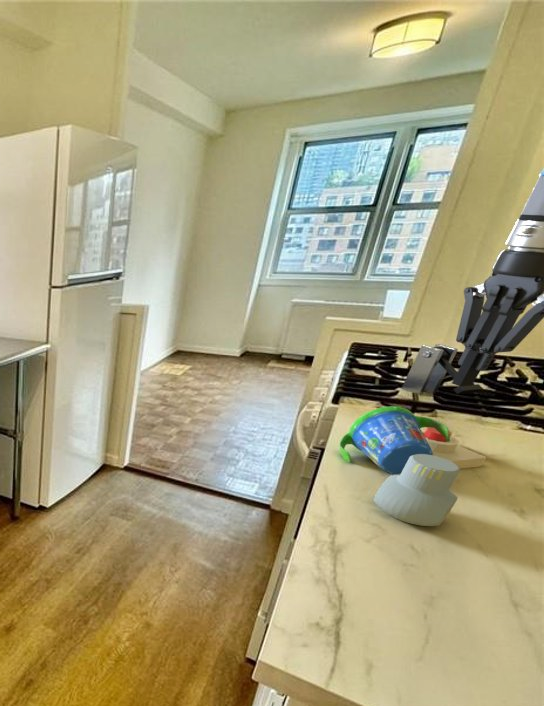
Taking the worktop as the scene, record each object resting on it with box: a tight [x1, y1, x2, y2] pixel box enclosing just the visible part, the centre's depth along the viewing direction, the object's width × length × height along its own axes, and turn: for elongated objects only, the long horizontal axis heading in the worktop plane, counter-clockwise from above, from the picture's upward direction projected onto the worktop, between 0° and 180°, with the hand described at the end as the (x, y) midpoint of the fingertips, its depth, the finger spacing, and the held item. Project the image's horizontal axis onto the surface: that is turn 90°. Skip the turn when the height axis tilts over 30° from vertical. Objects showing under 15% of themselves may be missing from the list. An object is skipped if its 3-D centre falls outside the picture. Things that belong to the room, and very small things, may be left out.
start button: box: [424, 427, 453, 442], centre depth 95 cm, size 4×4×2 cm
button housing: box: [421, 429, 487, 470], centre depth 96 cm, size 12×10×4 cm
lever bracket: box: [401, 343, 459, 396], centre depth 120 cm, size 12×9×13 cm
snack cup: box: [339, 406, 450, 475], centre depth 91 cm, size 16×10×10 cm
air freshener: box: [373, 454, 461, 527], centre depth 77 cm, size 11×8×10 cm
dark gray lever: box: [433, 346, 484, 395], centre depth 115 cm, size 13×6×2 cm
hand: (461, 384), depth 91 cm, fingers closed
